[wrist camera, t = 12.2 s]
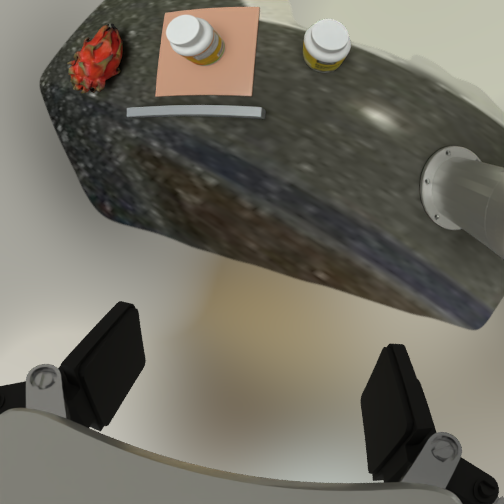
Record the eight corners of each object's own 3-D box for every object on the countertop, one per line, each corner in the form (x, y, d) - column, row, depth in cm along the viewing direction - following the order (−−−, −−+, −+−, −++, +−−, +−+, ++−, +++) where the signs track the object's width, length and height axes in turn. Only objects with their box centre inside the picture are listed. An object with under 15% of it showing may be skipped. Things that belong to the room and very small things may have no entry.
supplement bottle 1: (182, 45, 34) (152, 26, 25) (215, 26, 33) (193, 1, 24) (198, 73, 36) (171, 58, 27) (232, 54, 34) (213, 33, 25)
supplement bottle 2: (311, 77, 35) (315, 60, 26) (296, 43, 33) (296, 18, 24) (348, 68, 33) (363, 50, 24) (333, 34, 32) (343, 8, 23)
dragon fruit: (96, 99, 41) (129, 38, 38) (111, 105, 36) (149, 35, 33) (54, 85, 34) (89, 19, 31) (61, 87, 29) (103, 11, 26)
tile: (259, 8, 31) (259, 7, 31) (252, 96, 37) (251, 96, 36) (166, 14, 33) (165, 13, 32) (156, 96, 38) (155, 96, 38)
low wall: (265, 110, 37) (261, 107, 33) (265, 119, 38) (260, 116, 33) (144, 109, 39) (127, 108, 35) (143, 117, 40) (126, 116, 35)
